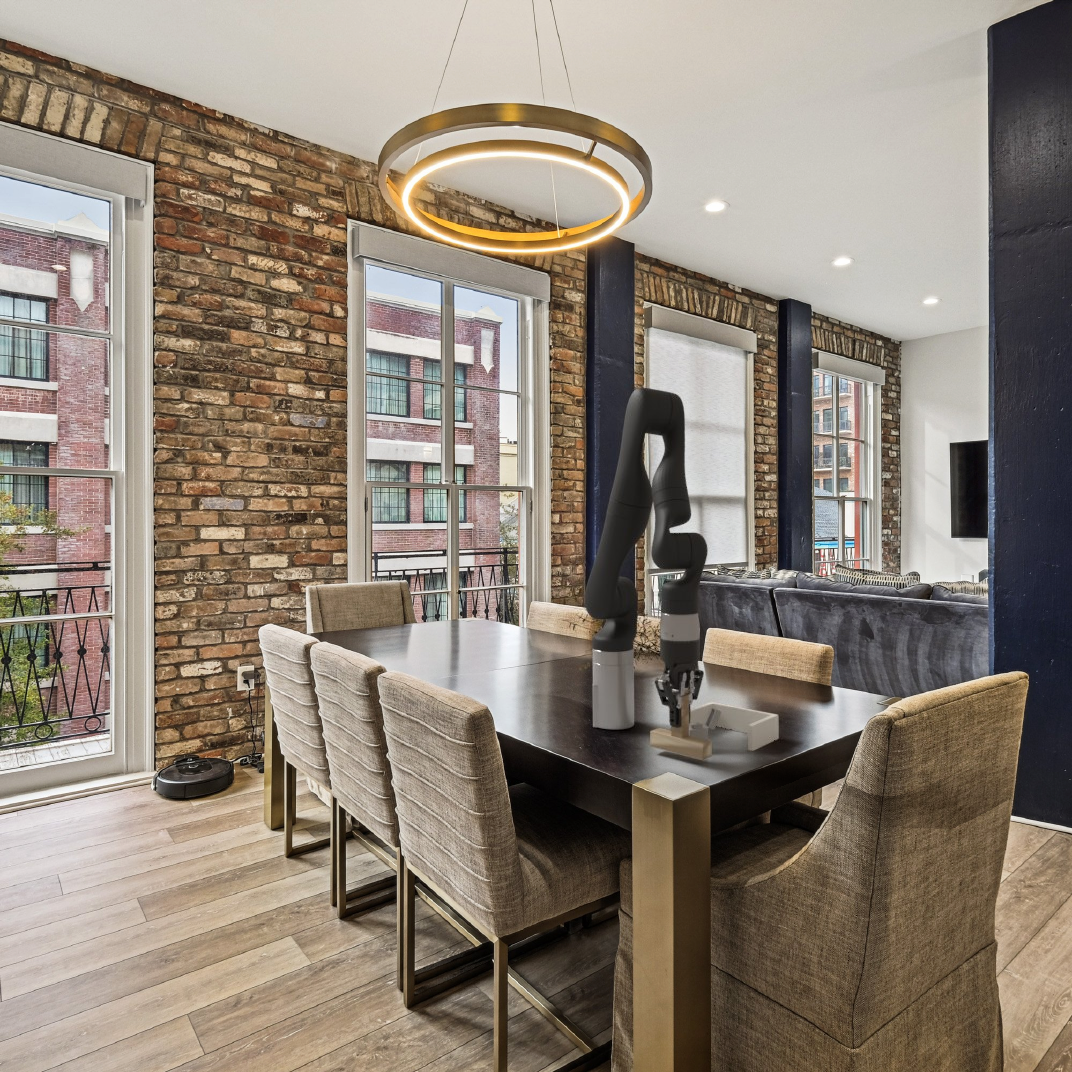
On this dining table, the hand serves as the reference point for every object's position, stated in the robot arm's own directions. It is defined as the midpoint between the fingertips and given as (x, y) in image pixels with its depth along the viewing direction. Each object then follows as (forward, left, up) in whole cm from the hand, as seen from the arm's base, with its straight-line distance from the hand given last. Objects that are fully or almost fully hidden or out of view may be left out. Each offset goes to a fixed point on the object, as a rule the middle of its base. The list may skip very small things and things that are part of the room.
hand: (680, 724), depth 141 cm
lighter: (+5, +6, -7) cm, 11 cm away
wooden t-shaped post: (0, 0, -5) cm, 5 cm away
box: (+12, +14, -6) cm, 19 cm away
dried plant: (-11, +70, -7) cm, 71 cm away
